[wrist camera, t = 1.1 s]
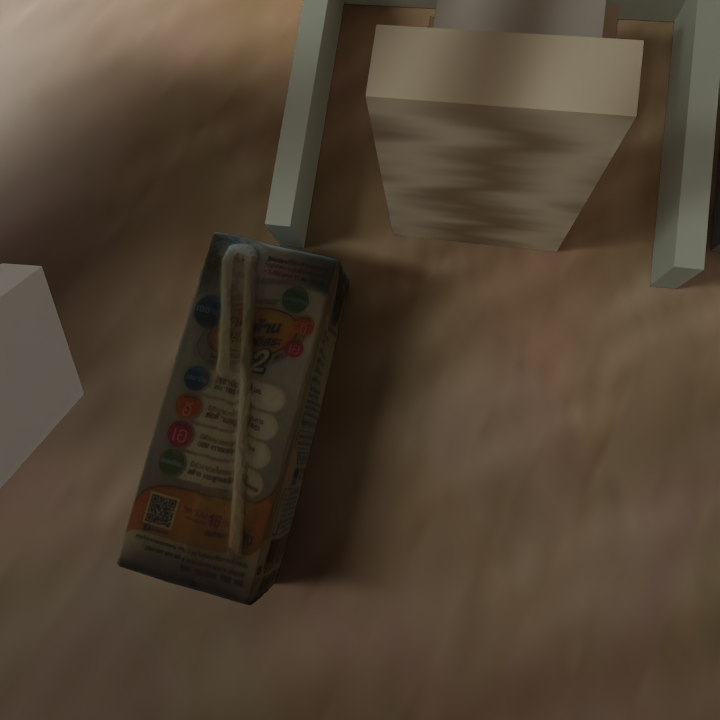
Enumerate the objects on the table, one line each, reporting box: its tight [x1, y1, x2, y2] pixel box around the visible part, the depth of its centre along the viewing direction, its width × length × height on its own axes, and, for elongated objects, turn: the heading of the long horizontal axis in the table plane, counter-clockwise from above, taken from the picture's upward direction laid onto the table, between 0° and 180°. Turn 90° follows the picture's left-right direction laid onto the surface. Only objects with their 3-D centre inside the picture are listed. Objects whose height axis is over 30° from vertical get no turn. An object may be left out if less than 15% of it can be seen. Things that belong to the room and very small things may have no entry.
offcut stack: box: [428, 0, 619, 39], centre depth 38 cm, size 11×6×6 cm, turn 81°
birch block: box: [365, 24, 644, 252], centre depth 32 cm, size 10×3×16 cm, turn 81°
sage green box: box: [265, 0, 720, 289], centre depth 36 cm, size 24×18×10 cm
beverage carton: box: [117, 232, 349, 605], centre depth 37 cm, size 8×19×7 cm, turn 166°
